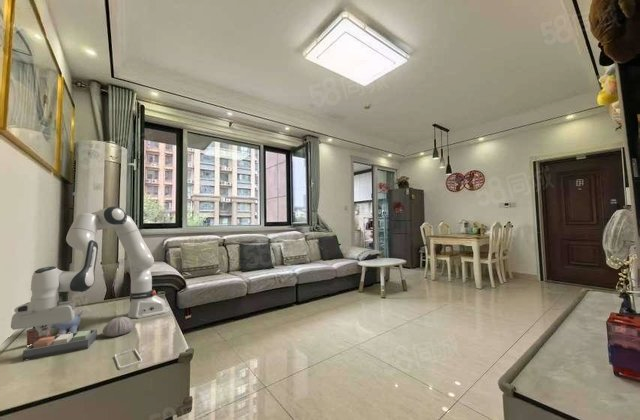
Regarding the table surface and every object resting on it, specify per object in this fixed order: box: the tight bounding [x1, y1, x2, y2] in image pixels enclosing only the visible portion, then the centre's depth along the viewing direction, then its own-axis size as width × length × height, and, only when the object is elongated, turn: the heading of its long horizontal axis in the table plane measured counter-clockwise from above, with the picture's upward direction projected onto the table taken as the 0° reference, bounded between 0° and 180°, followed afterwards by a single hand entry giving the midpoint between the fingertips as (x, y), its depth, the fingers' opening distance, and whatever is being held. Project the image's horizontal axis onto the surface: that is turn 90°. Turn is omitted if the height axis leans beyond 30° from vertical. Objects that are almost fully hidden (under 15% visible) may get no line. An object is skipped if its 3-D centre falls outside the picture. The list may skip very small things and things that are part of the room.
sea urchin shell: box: [102, 316, 136, 338], centre depth 137 cm, size 13×14×8 cm
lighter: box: [26, 325, 51, 345], centre depth 127 cm, size 8×3×10 cm, turn 141°
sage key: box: [73, 329, 92, 341], centre depth 124 cm, size 4×7×2 cm, turn 27°
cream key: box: [54, 333, 73, 345], centre depth 121 cm, size 4×7×2 cm, turn 27°
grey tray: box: [22, 328, 98, 361], centre depth 121 cm, size 21×14×4 cm, turn 117°
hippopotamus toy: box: [51, 310, 84, 336], centre depth 141 cm, size 11×15×10 cm
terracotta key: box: [33, 335, 56, 348], centre depth 118 cm, size 4×7×2 cm, turn 27°
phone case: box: [114, 348, 143, 370], centre depth 108 cm, size 7×1×15 cm
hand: (44, 335), depth 118 cm, fingers closed
